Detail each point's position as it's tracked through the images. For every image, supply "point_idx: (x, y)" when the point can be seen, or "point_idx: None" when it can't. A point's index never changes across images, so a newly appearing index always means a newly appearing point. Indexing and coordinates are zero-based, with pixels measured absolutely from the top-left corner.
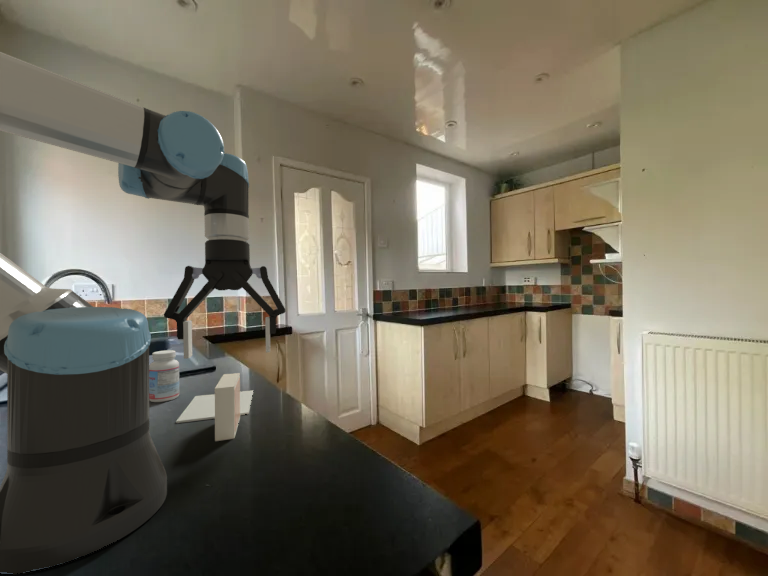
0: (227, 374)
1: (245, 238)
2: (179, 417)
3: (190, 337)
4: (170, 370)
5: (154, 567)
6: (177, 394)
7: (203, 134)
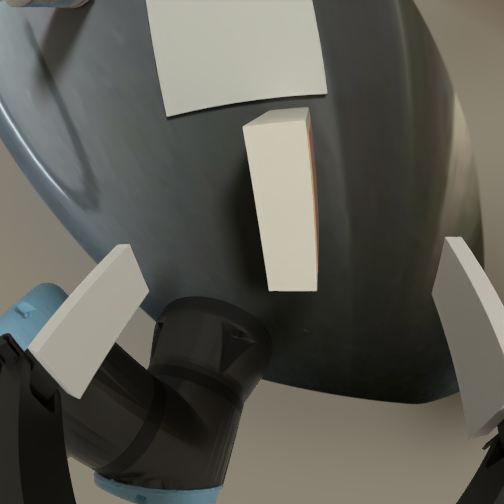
0: (259, 133)
1: None
2: (163, 95)
3: (97, 316)
4: None
5: (292, 385)
6: None
7: None
